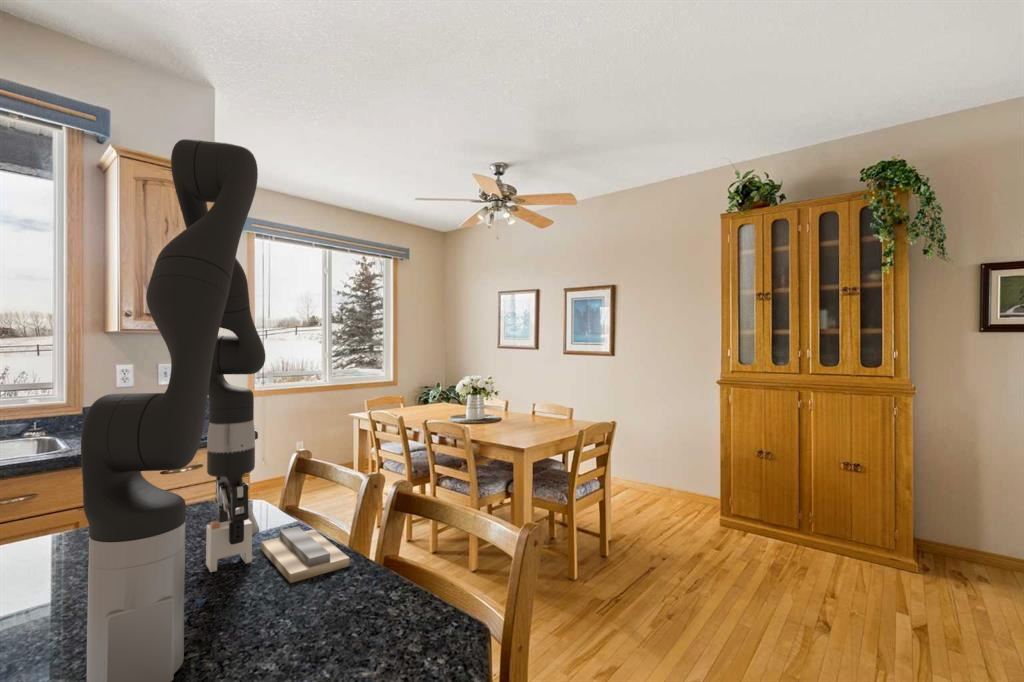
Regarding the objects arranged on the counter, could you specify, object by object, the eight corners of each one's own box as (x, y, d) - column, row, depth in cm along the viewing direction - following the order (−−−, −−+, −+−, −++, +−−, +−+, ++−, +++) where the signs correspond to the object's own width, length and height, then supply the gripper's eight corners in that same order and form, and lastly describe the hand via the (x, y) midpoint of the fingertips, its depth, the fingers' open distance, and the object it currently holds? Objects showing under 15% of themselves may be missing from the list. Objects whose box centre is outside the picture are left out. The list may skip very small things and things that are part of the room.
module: (251, 562, 90) (252, 518, 90) (210, 572, 86) (211, 526, 86) (246, 554, 93) (246, 513, 93) (206, 564, 89) (206, 520, 89)
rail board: (349, 566, 88) (349, 549, 88) (290, 583, 82) (290, 564, 82) (313, 536, 102) (313, 522, 102) (260, 549, 96) (261, 533, 96)
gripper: (264, 450, 87) (264, 542, 87) (245, 437, 98) (244, 519, 98) (215, 456, 82) (214, 554, 82) (200, 442, 93) (199, 529, 93)
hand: (230, 535), depth 90 cm, fingers open, 8 cm apart
